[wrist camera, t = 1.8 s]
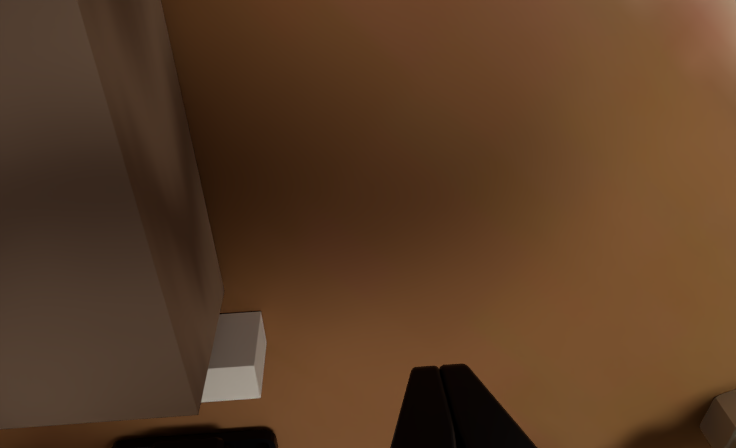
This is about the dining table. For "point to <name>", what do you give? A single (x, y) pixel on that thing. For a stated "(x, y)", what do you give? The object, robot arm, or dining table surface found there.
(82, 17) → the carriage
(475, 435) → the robot arm
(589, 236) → the dining table surface
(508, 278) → the dining table surface
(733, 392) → the valve
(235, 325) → the bay
